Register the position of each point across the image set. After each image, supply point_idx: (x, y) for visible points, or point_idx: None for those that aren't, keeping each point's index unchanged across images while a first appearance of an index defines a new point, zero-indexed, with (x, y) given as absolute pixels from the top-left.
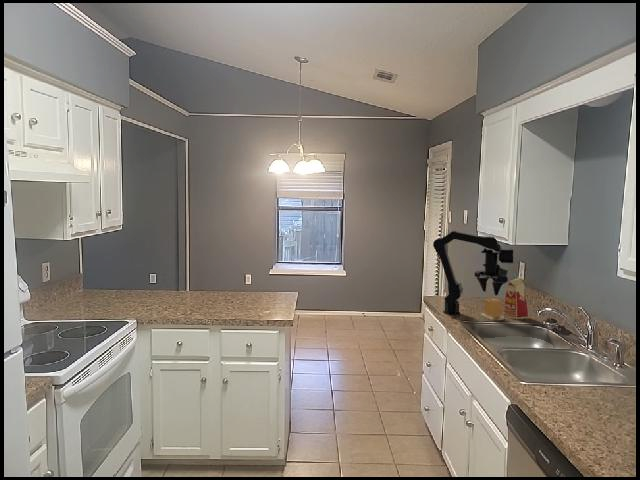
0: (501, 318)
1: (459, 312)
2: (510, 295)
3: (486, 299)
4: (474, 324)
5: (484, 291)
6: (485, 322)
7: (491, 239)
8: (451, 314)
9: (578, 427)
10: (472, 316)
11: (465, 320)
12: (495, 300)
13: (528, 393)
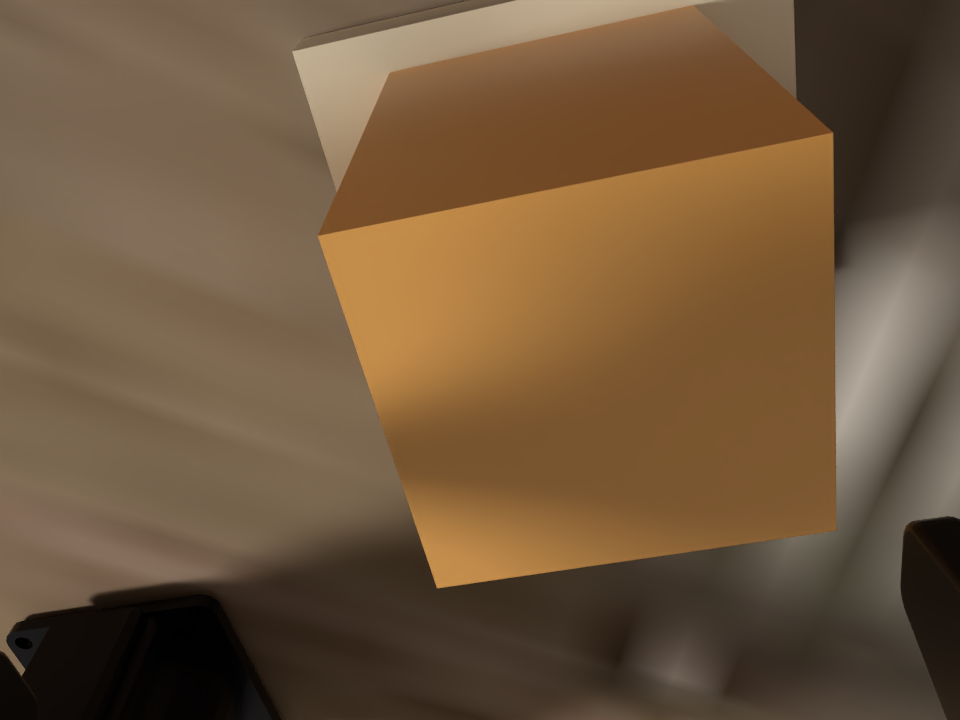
0: (785, 42)
1: (181, 609)
2: None
3: (436, 537)
4: (890, 622)
5: (23, 692)
6: (848, 438)
7: None
8: (276, 712)
9: None
10: (394, 479)
11: (631, 649)
12: (661, 328)
13: None
